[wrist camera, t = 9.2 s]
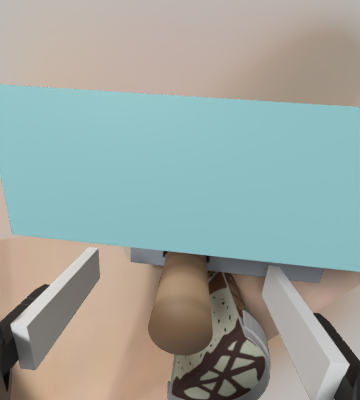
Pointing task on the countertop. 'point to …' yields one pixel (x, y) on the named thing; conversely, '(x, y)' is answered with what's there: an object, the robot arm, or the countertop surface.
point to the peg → (182, 306)
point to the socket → (186, 177)
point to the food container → (224, 352)
